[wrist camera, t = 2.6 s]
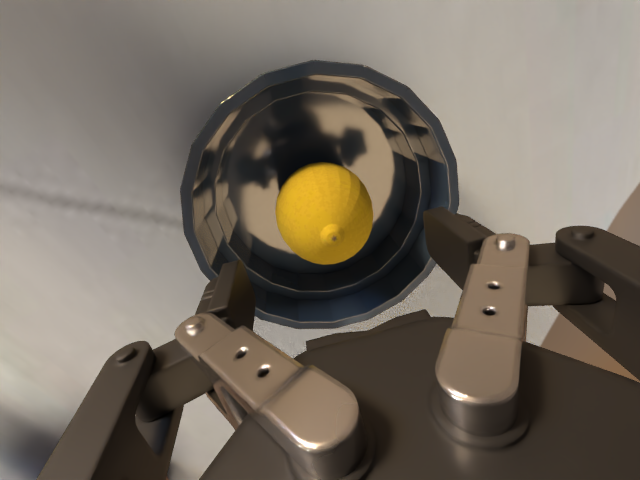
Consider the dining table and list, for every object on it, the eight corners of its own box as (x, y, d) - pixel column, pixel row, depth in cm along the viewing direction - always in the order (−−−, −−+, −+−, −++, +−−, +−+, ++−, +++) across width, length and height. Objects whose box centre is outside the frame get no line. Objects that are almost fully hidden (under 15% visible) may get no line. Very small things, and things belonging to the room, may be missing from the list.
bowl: (165, 105, 20) (127, 109, 15) (406, 41, 20) (448, 23, 15) (246, 305, 26) (238, 354, 21) (430, 256, 26) (465, 293, 21)
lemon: (363, 217, 24) (400, 271, 17) (290, 239, 24) (294, 302, 17) (345, 141, 22) (379, 165, 14) (264, 166, 22) (257, 201, 14)
